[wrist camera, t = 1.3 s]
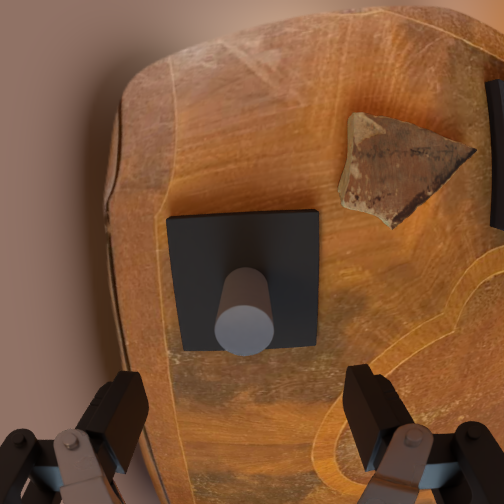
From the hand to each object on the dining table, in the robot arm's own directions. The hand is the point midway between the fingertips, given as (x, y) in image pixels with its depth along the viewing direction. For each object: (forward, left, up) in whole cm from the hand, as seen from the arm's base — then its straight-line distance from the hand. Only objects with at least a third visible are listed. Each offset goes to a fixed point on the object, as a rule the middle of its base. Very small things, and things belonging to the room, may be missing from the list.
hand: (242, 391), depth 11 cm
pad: (0, 0, -12) cm, 12 cm away
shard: (-9, +11, -12) cm, 19 cm away
